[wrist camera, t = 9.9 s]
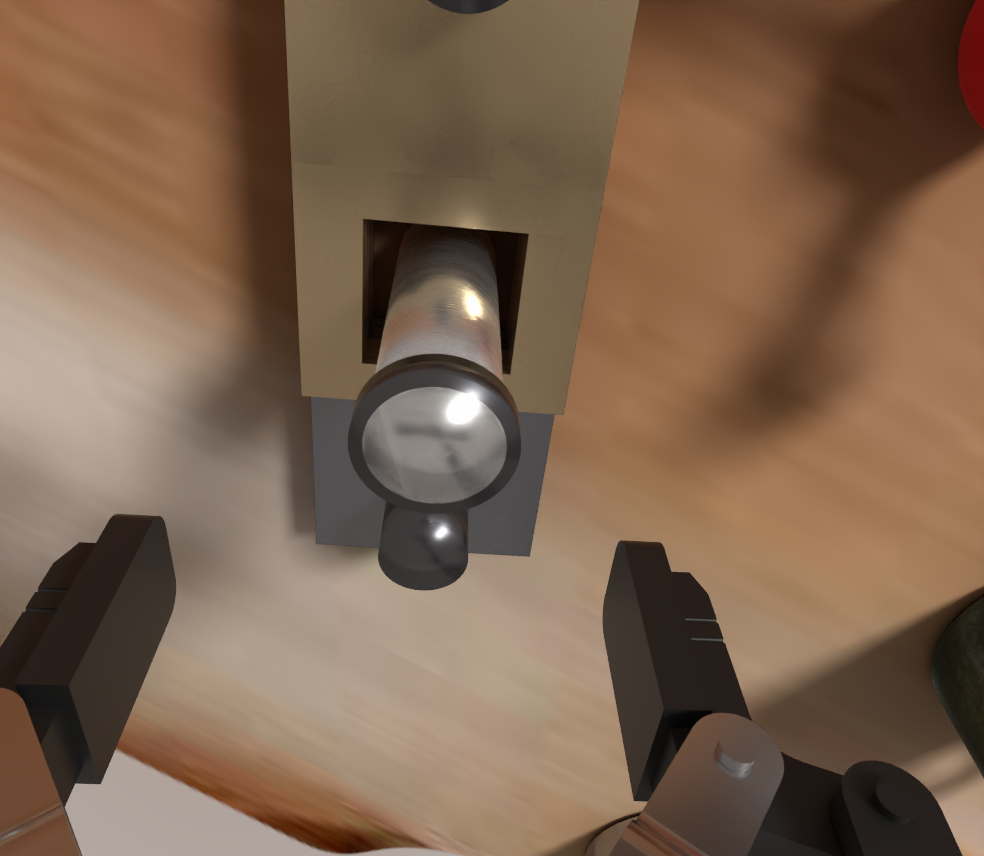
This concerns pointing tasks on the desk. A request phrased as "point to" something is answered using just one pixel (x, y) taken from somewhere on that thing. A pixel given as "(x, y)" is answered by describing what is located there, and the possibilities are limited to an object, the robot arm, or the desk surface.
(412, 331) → the pin
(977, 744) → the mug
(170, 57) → the desk surface
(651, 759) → the robot arm
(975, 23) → the molecular model
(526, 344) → the two-tone base plate
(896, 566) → the desk surface
